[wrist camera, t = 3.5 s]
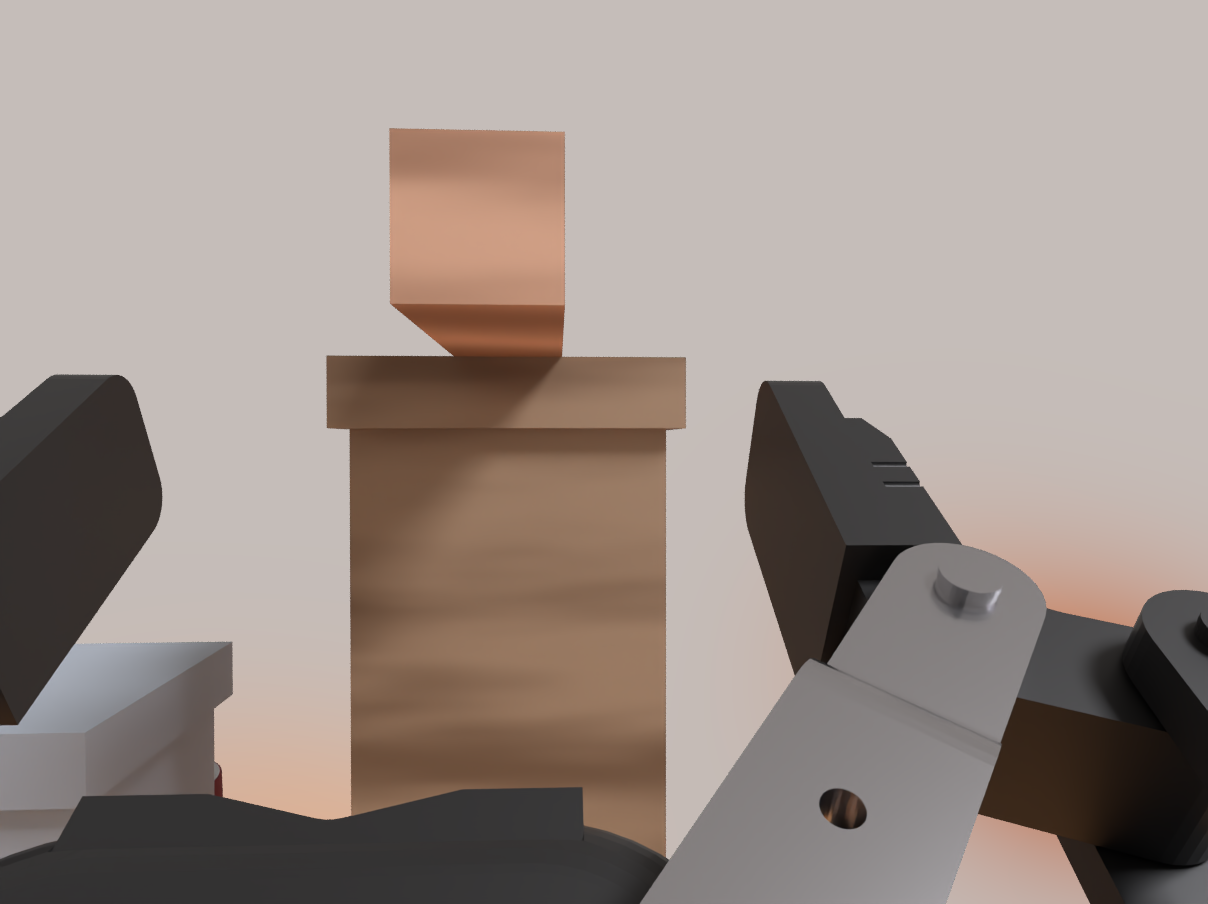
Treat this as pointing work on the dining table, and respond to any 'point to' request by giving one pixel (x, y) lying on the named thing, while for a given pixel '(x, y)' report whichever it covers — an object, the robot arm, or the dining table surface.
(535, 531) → the tall pedestal
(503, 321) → the terracotta bar
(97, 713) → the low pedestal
